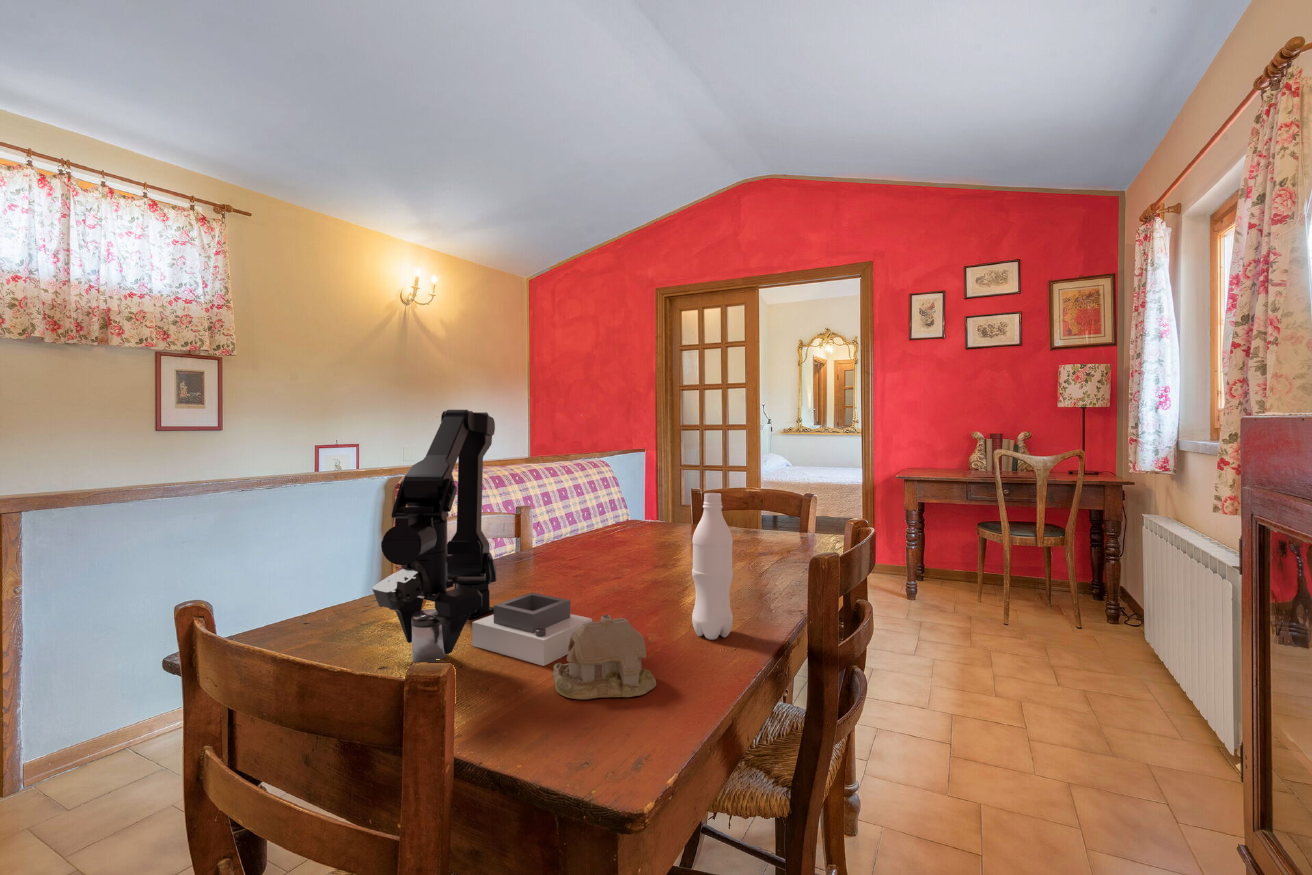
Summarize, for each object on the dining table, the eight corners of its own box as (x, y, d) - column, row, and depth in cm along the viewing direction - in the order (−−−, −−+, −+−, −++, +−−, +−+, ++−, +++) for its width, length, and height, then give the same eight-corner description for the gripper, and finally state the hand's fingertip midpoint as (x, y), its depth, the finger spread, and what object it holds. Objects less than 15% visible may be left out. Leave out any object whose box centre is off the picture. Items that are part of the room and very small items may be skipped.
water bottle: (706, 644, 99) (706, 497, 99) (684, 631, 106) (684, 492, 105) (740, 637, 103) (741, 494, 102) (718, 625, 109) (718, 490, 109)
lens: (404, 659, 93) (404, 615, 93) (432, 648, 98) (432, 606, 97) (425, 666, 90) (425, 621, 90) (453, 655, 95) (453, 612, 95)
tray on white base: (472, 645, 99) (472, 604, 99) (523, 625, 109) (523, 587, 109) (543, 666, 90) (543, 620, 90) (591, 641, 101) (591, 601, 101)
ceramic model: (638, 663, 92) (638, 599, 92) (665, 693, 81) (665, 622, 81) (548, 677, 87) (548, 610, 87) (564, 711, 76) (564, 635, 76)
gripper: (345, 553, 92) (346, 652, 92) (422, 568, 82) (423, 679, 82) (408, 541, 101) (409, 631, 101) (484, 553, 91) (484, 653, 92)
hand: (429, 647), depth 94 cm, fingers open, 9 cm apart
